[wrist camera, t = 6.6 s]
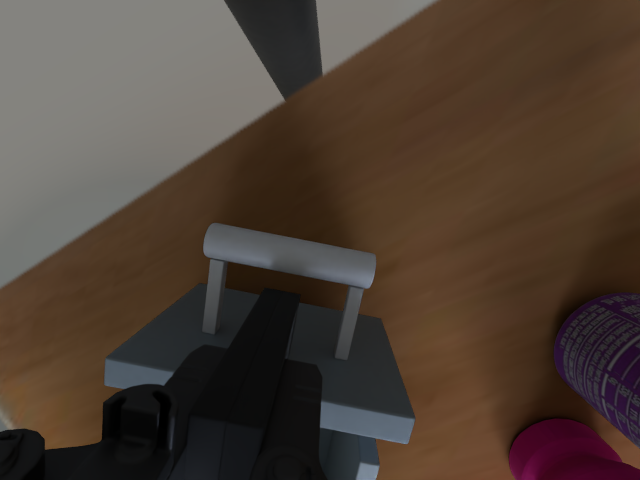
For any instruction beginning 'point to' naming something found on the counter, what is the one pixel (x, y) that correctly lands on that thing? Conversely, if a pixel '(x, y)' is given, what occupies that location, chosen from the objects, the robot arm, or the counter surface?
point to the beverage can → (605, 358)
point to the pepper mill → (566, 454)
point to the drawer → (307, 343)
